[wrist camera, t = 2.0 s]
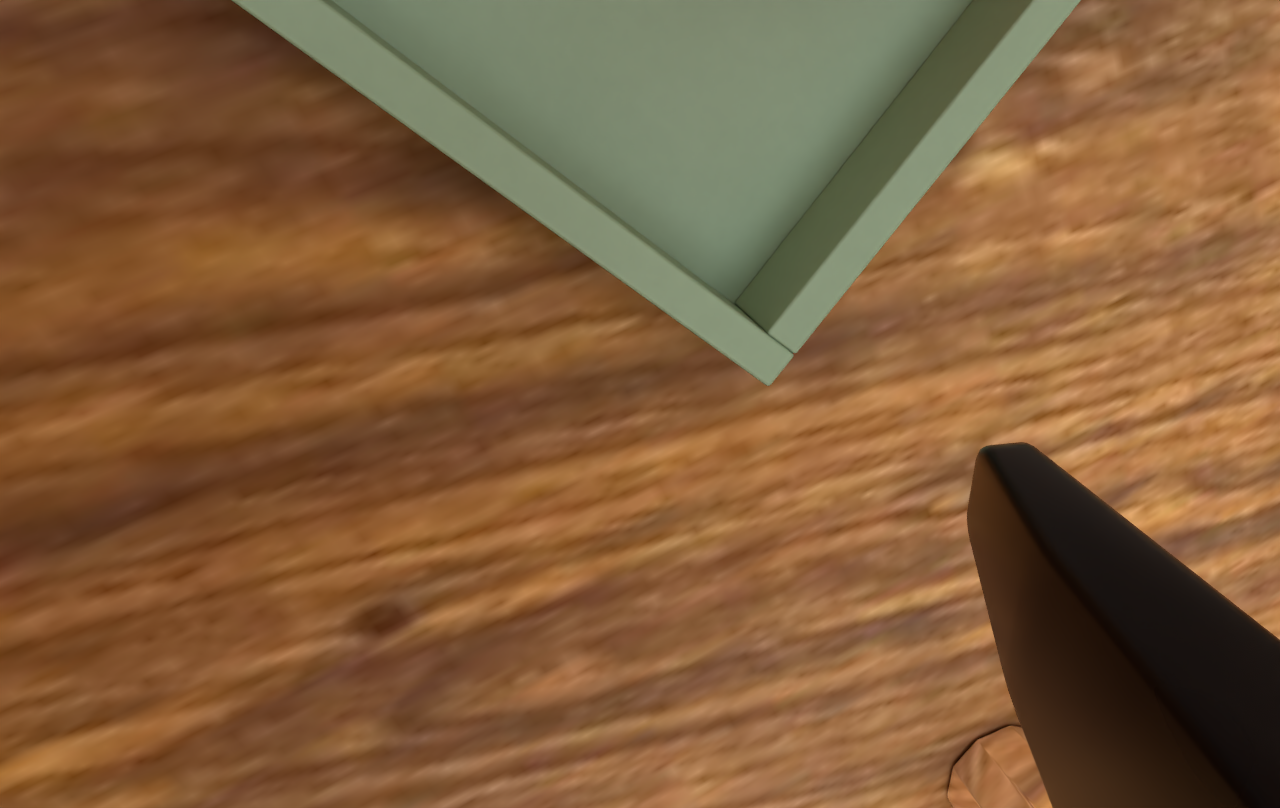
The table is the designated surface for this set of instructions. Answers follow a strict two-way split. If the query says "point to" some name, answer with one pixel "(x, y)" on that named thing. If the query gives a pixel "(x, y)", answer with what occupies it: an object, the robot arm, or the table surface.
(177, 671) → the table surface
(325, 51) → the tray
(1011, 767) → the milkshake
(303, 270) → the table surface
